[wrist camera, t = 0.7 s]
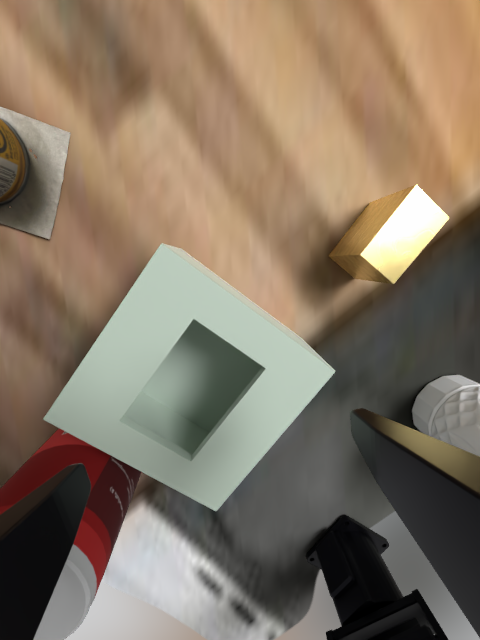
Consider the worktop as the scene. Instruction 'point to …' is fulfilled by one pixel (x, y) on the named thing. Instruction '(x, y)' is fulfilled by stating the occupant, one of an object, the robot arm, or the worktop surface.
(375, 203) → the yellow block
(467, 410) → the white cup
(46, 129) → the condiment
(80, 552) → the canned food
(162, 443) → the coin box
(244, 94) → the worktop surface
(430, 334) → the worktop surface
